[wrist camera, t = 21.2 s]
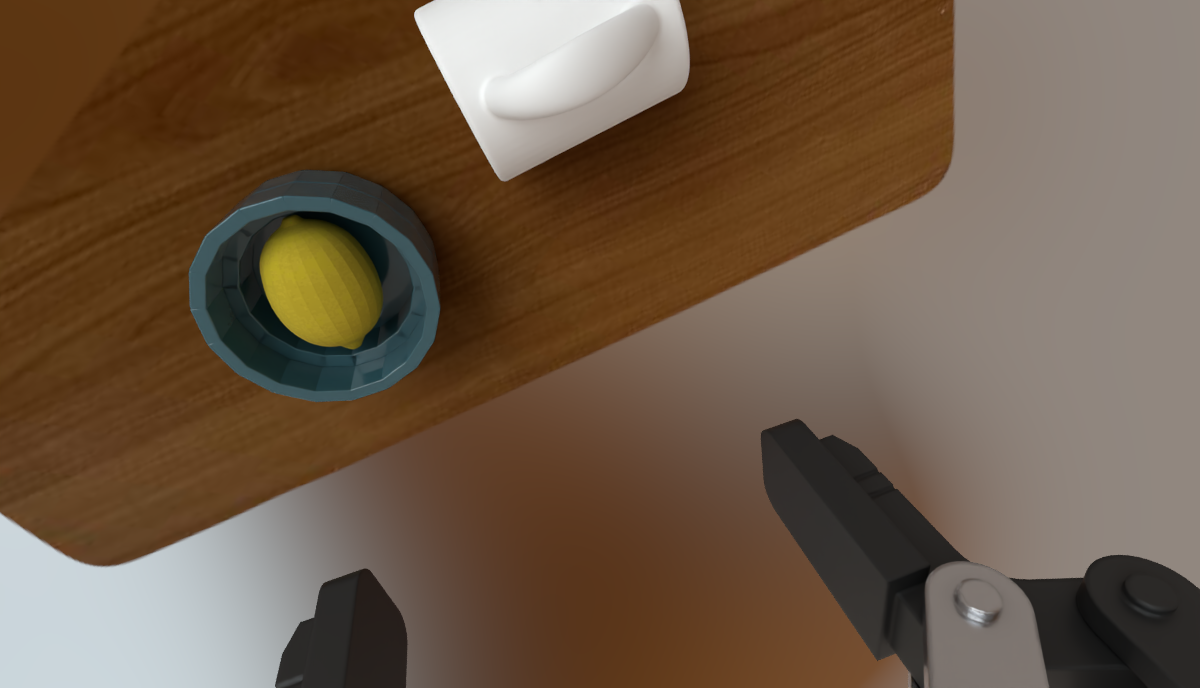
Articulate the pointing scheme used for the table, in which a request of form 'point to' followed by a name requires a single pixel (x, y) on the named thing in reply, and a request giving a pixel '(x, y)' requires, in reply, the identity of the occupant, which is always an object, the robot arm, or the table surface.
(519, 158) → the mug
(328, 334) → the lemon
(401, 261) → the bowl
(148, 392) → the table surface
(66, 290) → the table surface
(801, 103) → the table surface
